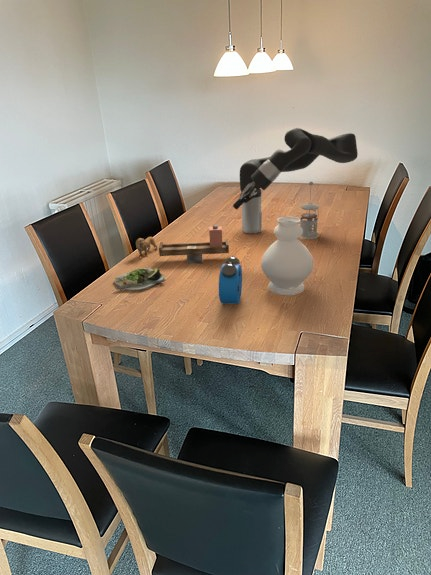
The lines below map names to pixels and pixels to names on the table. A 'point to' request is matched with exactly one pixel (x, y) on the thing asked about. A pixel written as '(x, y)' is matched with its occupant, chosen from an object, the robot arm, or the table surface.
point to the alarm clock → (230, 281)
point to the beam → (192, 250)
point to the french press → (309, 220)
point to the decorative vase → (287, 259)
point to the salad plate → (139, 279)
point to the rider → (215, 236)
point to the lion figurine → (145, 245)
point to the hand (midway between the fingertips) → (234, 207)
